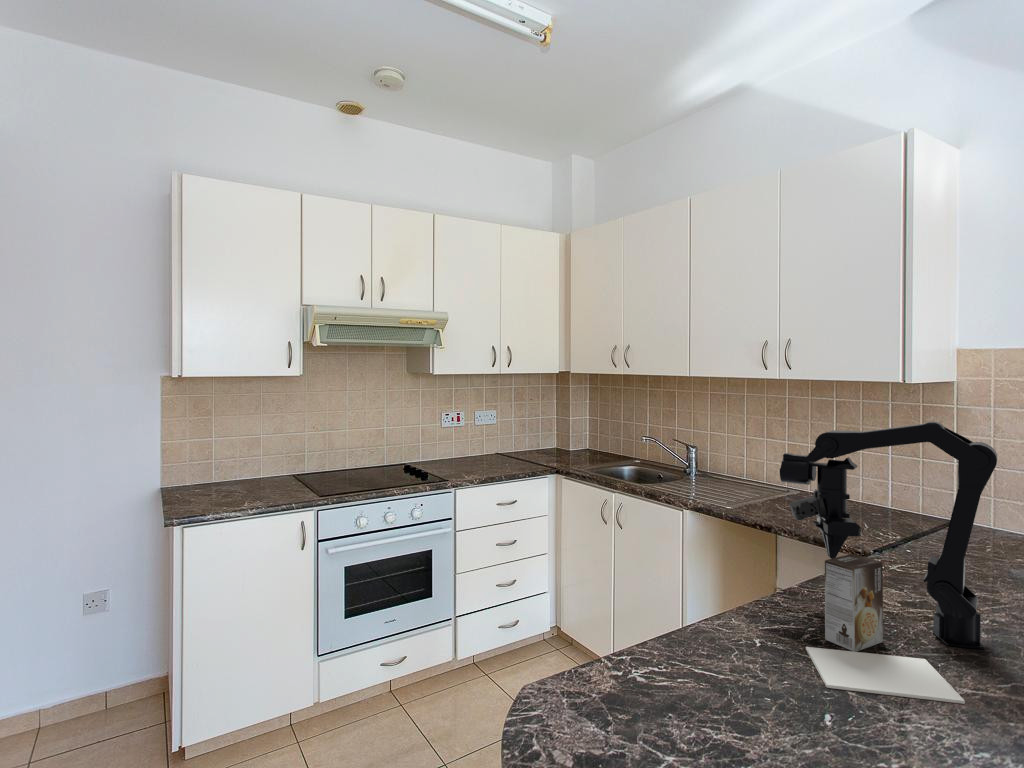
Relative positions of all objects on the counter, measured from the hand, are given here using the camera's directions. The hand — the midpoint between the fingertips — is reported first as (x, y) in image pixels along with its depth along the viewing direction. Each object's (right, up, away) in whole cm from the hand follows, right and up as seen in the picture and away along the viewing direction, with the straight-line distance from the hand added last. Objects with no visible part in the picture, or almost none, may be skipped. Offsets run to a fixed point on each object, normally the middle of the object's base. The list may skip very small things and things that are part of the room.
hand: (831, 557), depth 128 cm
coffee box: (-4, -12, -14) cm, 19 cm away
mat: (-7, -12, -27) cm, 30 cm away
